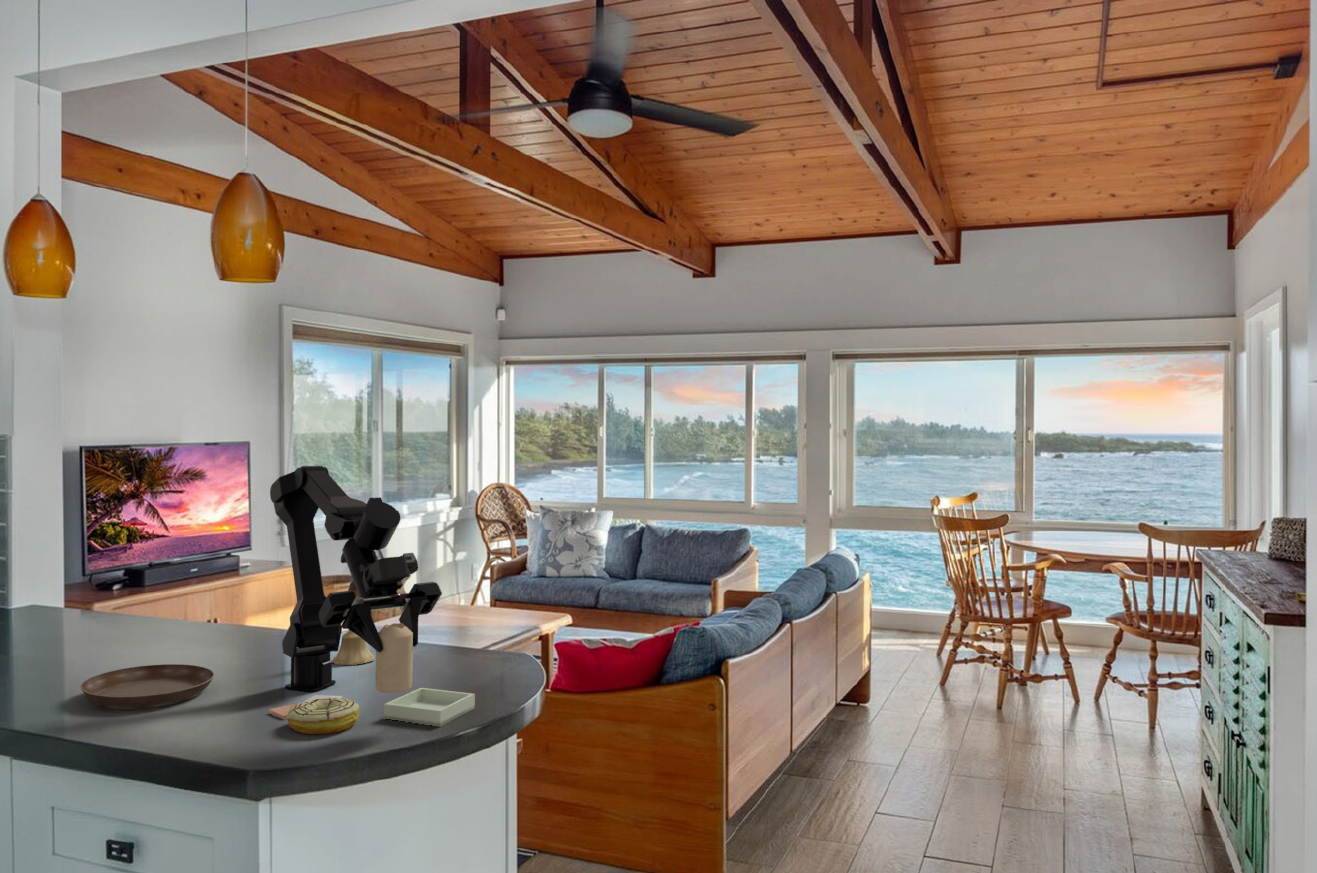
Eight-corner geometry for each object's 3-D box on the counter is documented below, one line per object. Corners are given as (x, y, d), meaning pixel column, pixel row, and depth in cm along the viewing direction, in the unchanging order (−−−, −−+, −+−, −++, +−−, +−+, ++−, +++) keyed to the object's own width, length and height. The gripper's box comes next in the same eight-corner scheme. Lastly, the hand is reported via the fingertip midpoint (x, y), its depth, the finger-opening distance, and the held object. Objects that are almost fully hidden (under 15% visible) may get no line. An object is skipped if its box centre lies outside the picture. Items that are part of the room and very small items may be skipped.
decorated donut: (317, 714, 158) (317, 691, 158) (372, 721, 154) (372, 698, 154) (273, 733, 148) (273, 708, 148) (330, 740, 144) (331, 715, 144)
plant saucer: (232, 698, 167) (232, 679, 167) (100, 722, 152) (101, 702, 152) (190, 675, 181) (190, 658, 181) (65, 696, 167) (65, 677, 167)
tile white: (301, 710, 161) (301, 703, 161) (314, 701, 166) (314, 695, 166) (329, 711, 160) (329, 704, 160) (342, 703, 165) (342, 696, 165)
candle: (402, 694, 146) (403, 629, 145) (369, 692, 147) (370, 627, 146) (417, 685, 151) (418, 622, 151) (385, 682, 152) (386, 620, 152)
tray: (383, 719, 154) (384, 704, 154) (420, 702, 164) (421, 687, 164) (440, 726, 151) (440, 711, 151) (474, 708, 161) (474, 694, 161)
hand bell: (322, 663, 191) (323, 584, 191) (350, 654, 199) (351, 578, 198) (356, 667, 188) (356, 587, 188) (383, 658, 195) (384, 581, 195)
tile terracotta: (269, 716, 157) (269, 709, 157) (297, 710, 161) (297, 703, 161) (283, 723, 154) (283, 715, 154) (312, 716, 157) (312, 709, 157)
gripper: (327, 540, 145) (358, 625, 137) (437, 533, 158) (471, 610, 150) (306, 585, 151) (334, 668, 143) (413, 574, 164) (444, 650, 156)
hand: (398, 647), depth 148 cm, fingers closed on candle, 5 cm apart
